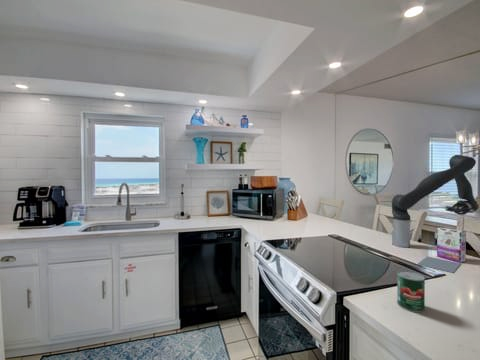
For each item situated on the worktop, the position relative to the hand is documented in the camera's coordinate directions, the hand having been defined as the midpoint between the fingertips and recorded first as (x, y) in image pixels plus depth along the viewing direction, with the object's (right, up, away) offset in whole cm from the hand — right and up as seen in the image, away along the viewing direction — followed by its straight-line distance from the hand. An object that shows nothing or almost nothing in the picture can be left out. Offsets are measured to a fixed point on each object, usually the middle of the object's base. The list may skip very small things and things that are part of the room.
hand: (455, 210), depth 137 cm
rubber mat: (-21, -26, -14) cm, 36 cm away
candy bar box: (-8, -26, -6) cm, 28 cm away
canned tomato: (-64, -27, -53) cm, 88 cm away
